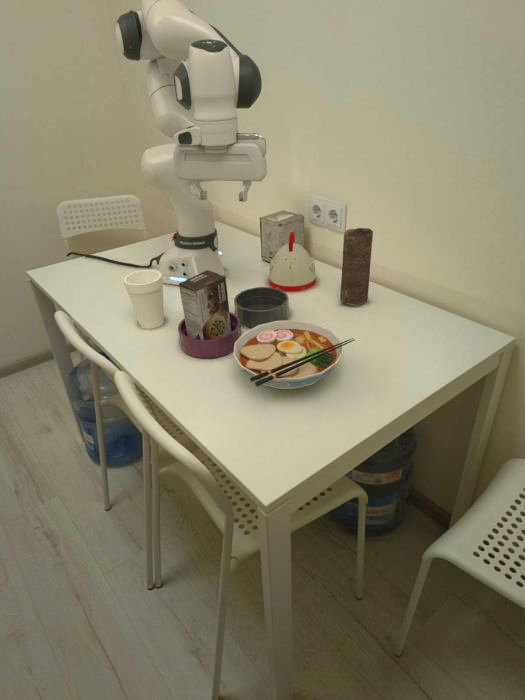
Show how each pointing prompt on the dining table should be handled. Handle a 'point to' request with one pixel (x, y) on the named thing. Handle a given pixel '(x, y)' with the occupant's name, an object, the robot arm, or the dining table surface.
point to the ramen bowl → (288, 353)
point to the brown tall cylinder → (356, 265)
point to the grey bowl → (261, 306)
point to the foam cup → (146, 296)
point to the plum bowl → (210, 341)
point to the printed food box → (206, 306)
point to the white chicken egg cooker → (292, 268)
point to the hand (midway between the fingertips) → (222, 200)
